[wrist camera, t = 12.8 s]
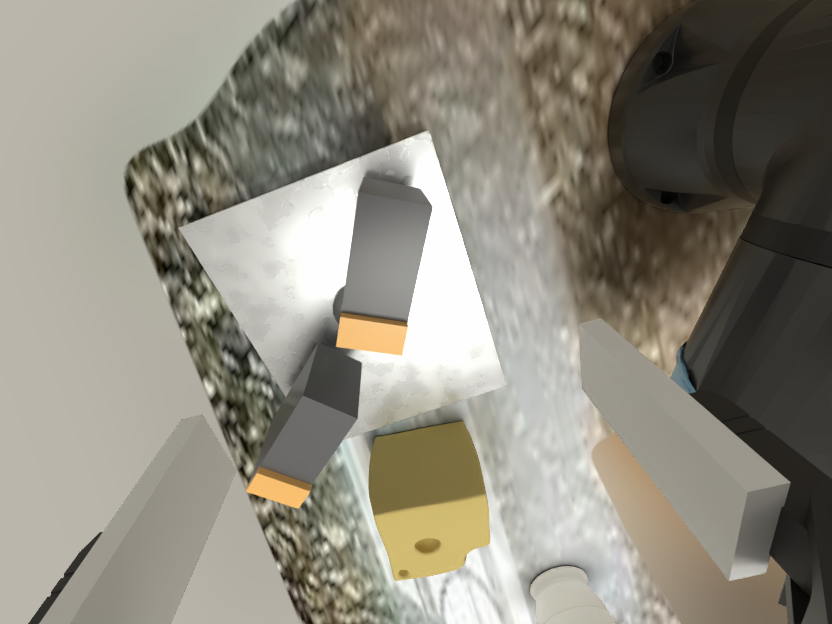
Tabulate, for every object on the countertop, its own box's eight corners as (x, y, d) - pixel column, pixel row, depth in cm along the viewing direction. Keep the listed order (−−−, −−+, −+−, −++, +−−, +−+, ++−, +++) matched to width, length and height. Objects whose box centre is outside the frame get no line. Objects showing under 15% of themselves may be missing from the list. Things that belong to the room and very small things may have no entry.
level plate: (426, 130, 29) (430, 130, 27) (500, 373, 40) (508, 389, 37) (190, 222, 31) (174, 230, 29) (321, 434, 41) (317, 453, 39)
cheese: (475, 481, 46) (498, 567, 37) (387, 498, 46) (388, 587, 37) (466, 414, 42) (490, 493, 33) (368, 432, 42) (365, 516, 33)
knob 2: (365, 172, 29) (357, 193, 19) (417, 184, 29) (434, 208, 20) (348, 285, 32) (336, 346, 23) (396, 292, 33) (401, 355, 24)
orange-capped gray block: (322, 327, 34) (301, 401, 25) (363, 347, 35) (357, 424, 26) (279, 401, 37) (245, 491, 27) (318, 417, 38) (298, 508, 29)
